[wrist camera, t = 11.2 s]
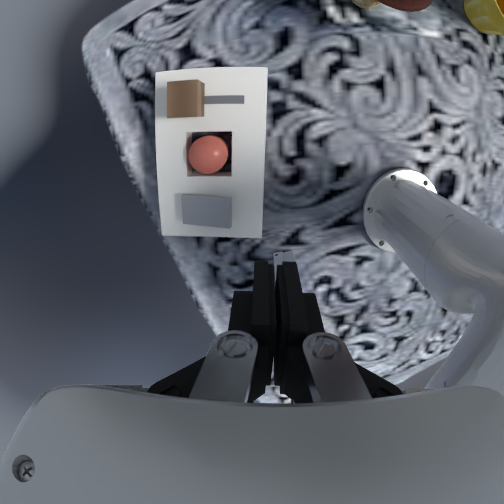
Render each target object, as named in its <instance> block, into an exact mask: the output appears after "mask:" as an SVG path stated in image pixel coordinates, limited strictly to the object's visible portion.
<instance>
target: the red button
mask: <svg viewBox="0 0 504 504" xmlns="http://www.w3.org/2000/svg"><path fill="white" fill-rule="evenodd" d="M188 156H189V161H190V164H191V165H192V167H193V168H194V169H195V170H197V171H198V172H200V173H204V174H211V173H215V172H217V171H218V170H220V169H221V168H222V167H223V165H224V164H225V163H226V161H227V159H228V157H229V147H228V145H227V143H226V141H225V140H224V139H223V138H221V137H219V136H217V135H207V136H204V137H201V138H199V139H197V140H196V141H194V142H193V144H192V145H191V147H190V149H189V155H188Z"/></svg>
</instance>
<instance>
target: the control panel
mask: <svg viewBox="0 0 504 504" xmlns="http://www.w3.org/2000/svg"><path fill="white" fill-rule="evenodd" d="M267 71H268V68H266V67H214V68H196V69H183V70H172V71H163V72H156V77H155V134H156V162H157V180H158V195H159V207H160V219H161V229H162V236H203V237H238V238H262V218H263V192H264V165H265V136H266V105H267ZM195 79H198V80H200V81H201V82H203V83H205V96H204V117H185V118H167V82H170V81H181V80H195ZM216 131H232V172H215V173H211V174H204V173H200V172H192V165H191V164H190V161H189V156H188V155H189V149H190V147H191V145H192V132H216ZM183 194H198V195H213V196H226V197H232V227H231V228H230V229H227V228H218V227H208V226H199V225H189V224H183V217H182V200H181V195H183Z"/></svg>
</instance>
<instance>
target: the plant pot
mask: <svg viewBox="0 0 504 504" xmlns="http://www.w3.org/2000/svg"><path fill="white" fill-rule="evenodd" d="M464 10H465V13H466V15H467V17H468V19H469V20H470V22H471V23H472V24H473V26H474V27H475V28H477V29H478V30H479V31H481V32H483V33H489V34H496V35H503V36H504V0H465V2H464Z"/></svg>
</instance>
